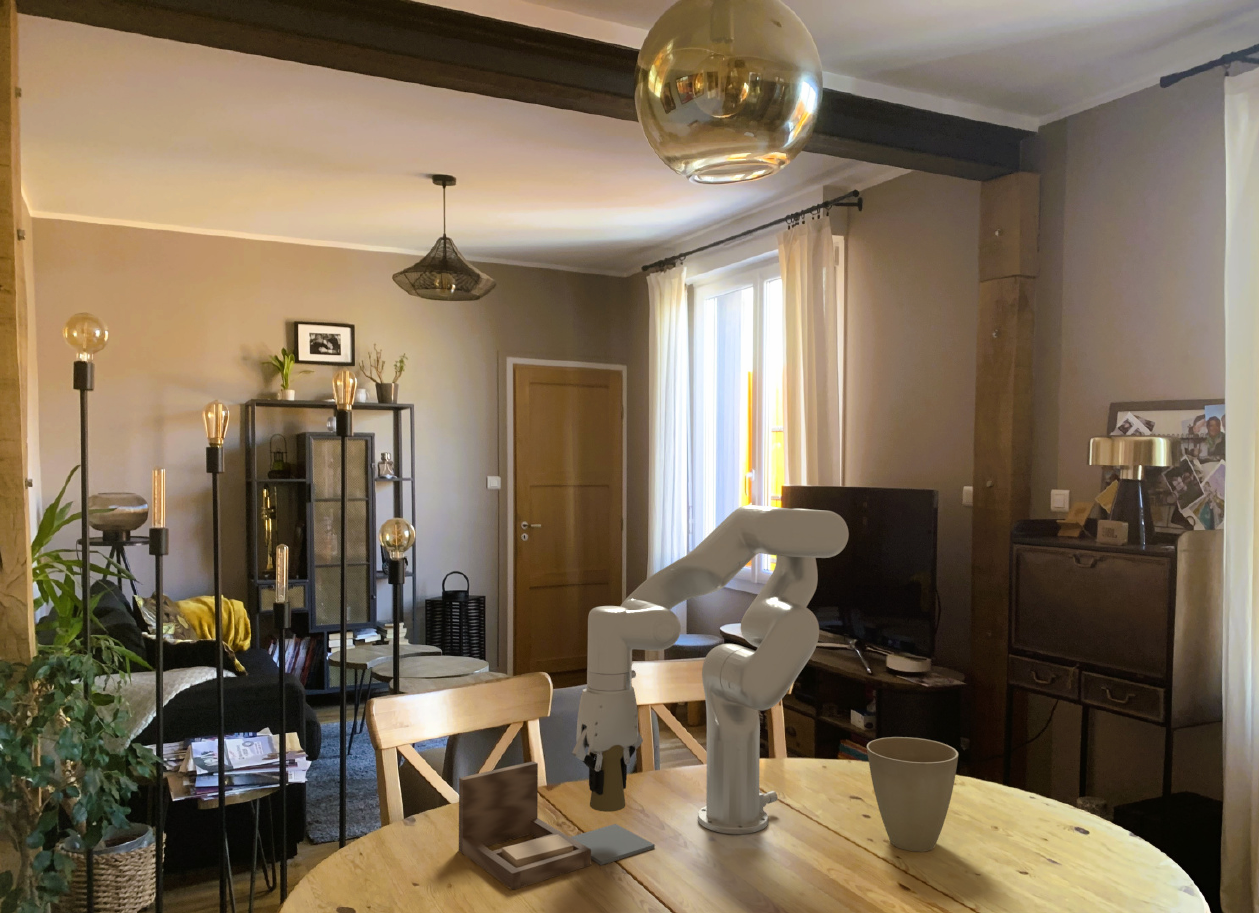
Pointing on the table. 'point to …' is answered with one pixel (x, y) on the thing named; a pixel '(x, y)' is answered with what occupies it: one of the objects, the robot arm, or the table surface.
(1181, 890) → the table surface
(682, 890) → the table surface
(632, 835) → the slate mat
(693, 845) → the table surface
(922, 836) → the plant pot
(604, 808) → the olive pawn
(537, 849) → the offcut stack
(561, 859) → the open walnut box
